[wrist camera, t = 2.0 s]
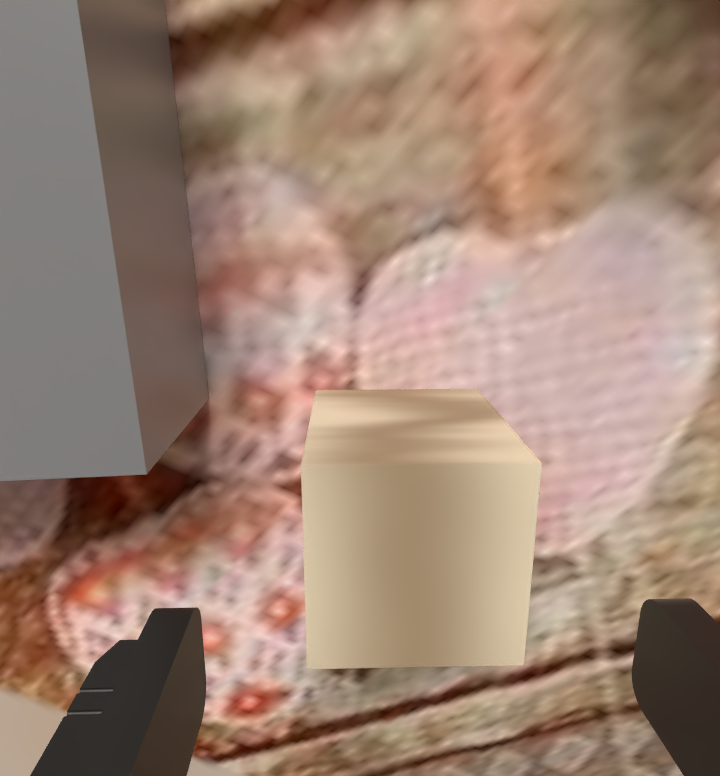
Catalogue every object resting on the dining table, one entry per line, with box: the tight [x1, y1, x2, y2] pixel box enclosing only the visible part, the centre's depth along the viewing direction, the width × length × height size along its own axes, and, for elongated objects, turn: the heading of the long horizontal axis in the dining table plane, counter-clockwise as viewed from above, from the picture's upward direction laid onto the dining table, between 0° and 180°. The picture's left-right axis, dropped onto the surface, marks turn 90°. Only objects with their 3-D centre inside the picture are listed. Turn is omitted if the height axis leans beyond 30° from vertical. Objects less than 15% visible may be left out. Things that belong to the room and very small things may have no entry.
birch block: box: [301, 389, 542, 669], centre depth 15 cm, size 5×5×6 cm
